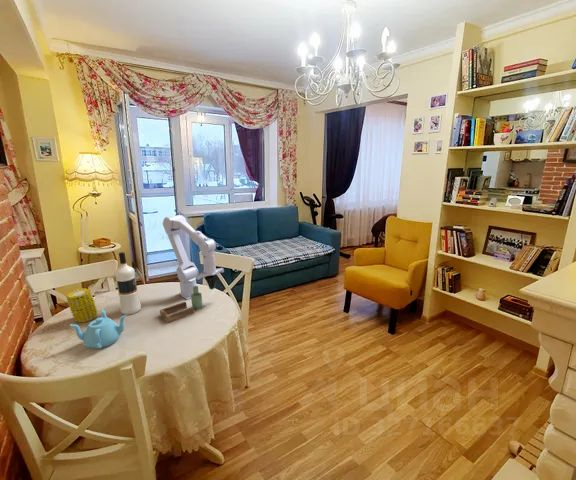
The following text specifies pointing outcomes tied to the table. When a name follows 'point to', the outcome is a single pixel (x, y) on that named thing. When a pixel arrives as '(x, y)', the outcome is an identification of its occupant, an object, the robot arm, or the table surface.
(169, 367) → the table surface
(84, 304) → the food
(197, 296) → the green bottle
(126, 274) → the vodka
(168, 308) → the u rest
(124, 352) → the table surface
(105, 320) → the teapot
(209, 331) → the table surface
